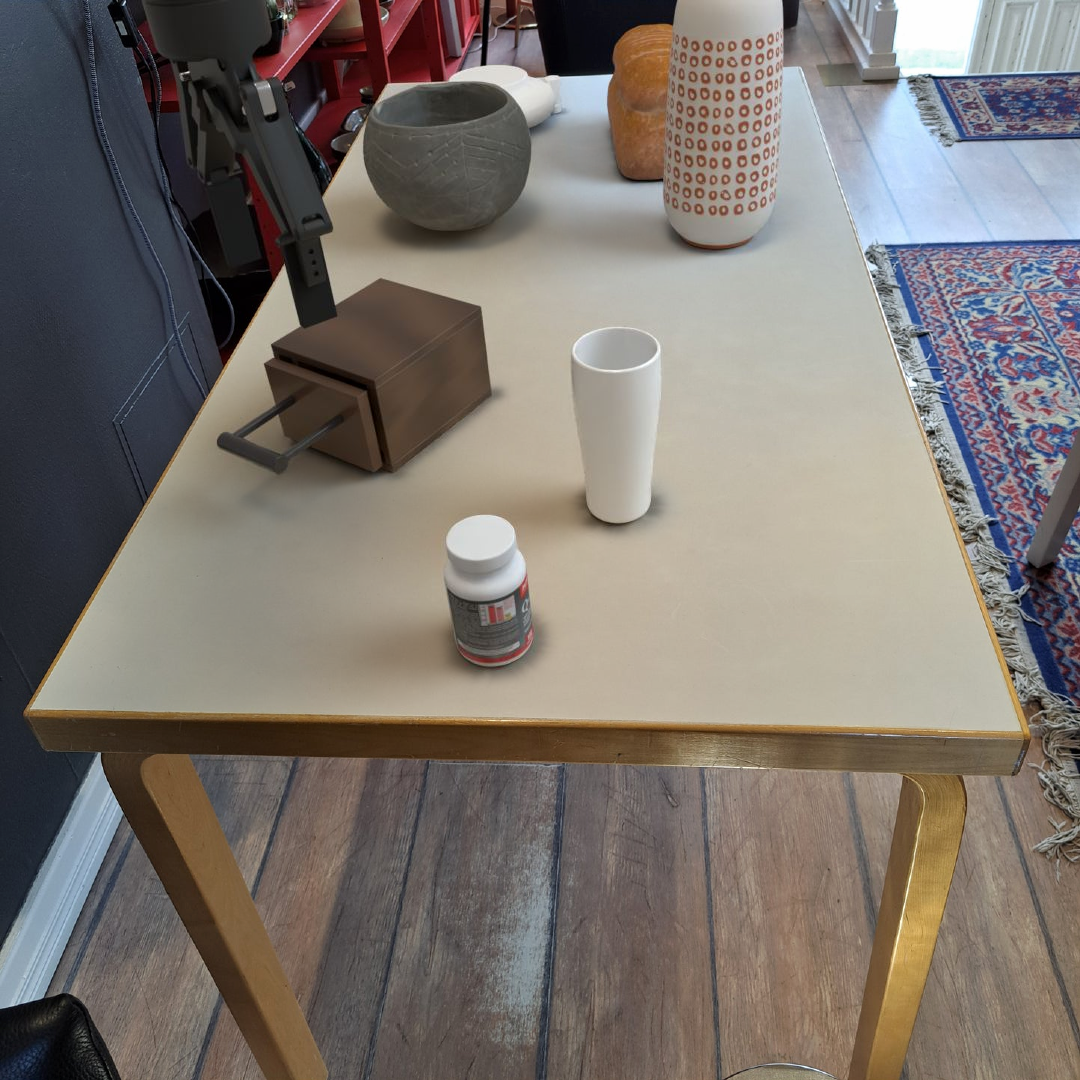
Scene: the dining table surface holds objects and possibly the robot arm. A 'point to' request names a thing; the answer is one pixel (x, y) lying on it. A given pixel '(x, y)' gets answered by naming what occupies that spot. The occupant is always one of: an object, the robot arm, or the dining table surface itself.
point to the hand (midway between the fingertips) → (279, 290)
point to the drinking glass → (617, 418)
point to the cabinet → (402, 360)
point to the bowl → (448, 153)
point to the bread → (640, 100)
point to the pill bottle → (487, 591)
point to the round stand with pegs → (519, 89)
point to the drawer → (312, 418)
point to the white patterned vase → (723, 119)
